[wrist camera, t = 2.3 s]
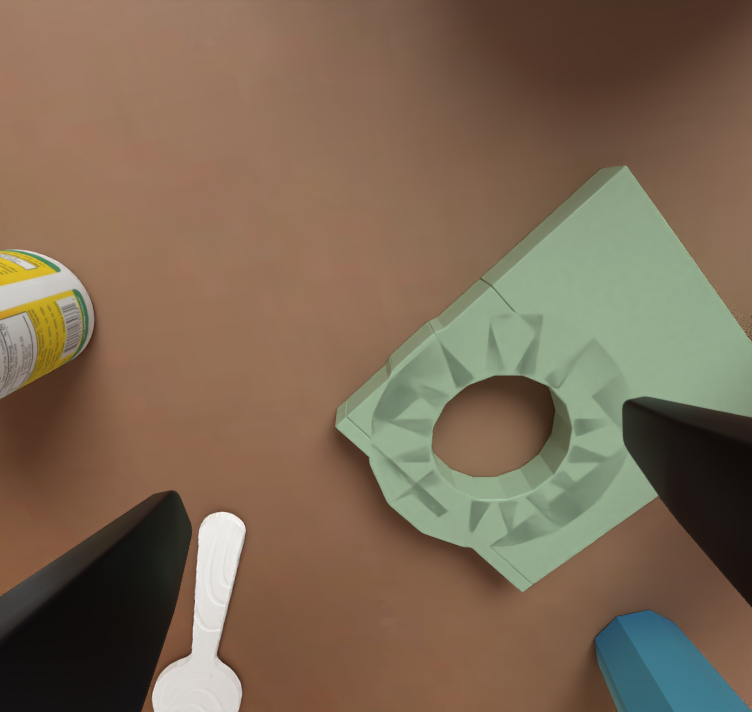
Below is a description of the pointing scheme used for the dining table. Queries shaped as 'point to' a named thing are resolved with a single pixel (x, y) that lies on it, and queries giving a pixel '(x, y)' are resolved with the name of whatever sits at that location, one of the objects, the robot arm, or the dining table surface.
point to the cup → (659, 668)
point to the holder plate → (555, 378)
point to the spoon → (207, 627)
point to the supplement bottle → (39, 317)
